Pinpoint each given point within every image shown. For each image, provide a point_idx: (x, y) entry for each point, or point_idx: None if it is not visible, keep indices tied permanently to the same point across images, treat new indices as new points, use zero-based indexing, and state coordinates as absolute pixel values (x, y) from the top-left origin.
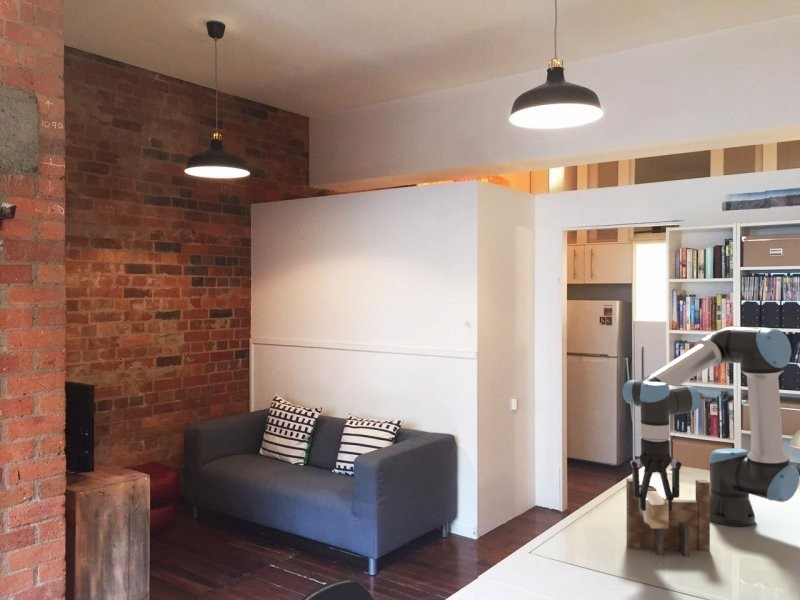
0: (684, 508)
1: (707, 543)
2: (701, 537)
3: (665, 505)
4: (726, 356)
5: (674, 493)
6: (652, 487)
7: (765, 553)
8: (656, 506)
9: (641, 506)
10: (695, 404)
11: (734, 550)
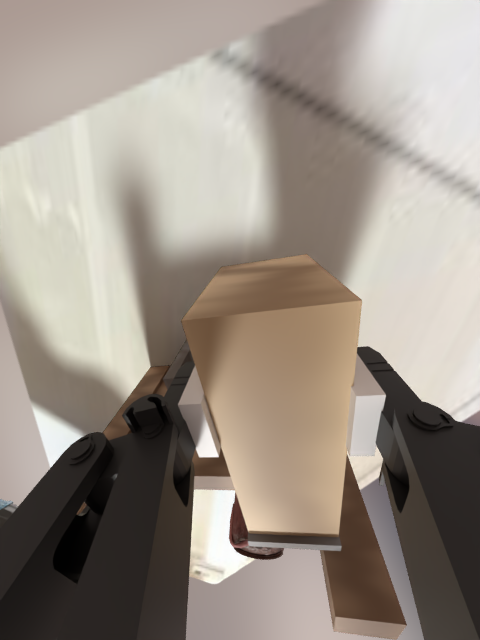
0: None
1: (147, 376)
2: (152, 385)
3: (210, 313)
4: None
5: (92, 476)
6: (237, 548)
7: (61, 370)
8: (299, 300)
9: (386, 363)
10: None
11: (110, 374)
